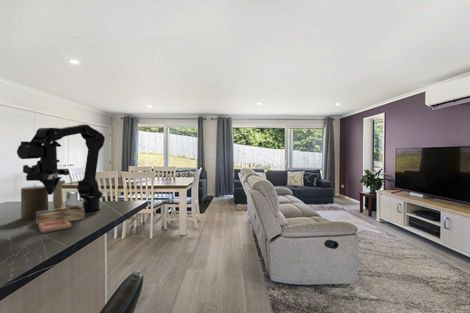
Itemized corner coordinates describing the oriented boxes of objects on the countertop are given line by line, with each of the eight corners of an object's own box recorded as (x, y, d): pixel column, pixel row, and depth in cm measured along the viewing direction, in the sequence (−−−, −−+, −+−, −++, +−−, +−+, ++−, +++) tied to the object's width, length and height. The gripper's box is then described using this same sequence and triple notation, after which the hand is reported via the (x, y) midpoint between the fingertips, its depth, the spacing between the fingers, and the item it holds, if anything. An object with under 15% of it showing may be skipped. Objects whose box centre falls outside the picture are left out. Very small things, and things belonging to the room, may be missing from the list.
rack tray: (65, 223, 105) (65, 219, 105) (71, 228, 99) (71, 223, 99) (38, 228, 99) (38, 223, 99) (42, 233, 92) (42, 228, 92)
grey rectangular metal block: (53, 214, 109) (53, 208, 109) (55, 215, 107) (54, 210, 106) (35, 217, 104) (35, 211, 104) (37, 218, 102) (37, 212, 102)
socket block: (79, 215, 118) (79, 205, 118) (84, 218, 112) (84, 208, 112) (36, 222, 106) (36, 211, 106) (39, 226, 101) (39, 215, 101)
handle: (65, 210, 128) (65, 180, 127) (50, 212, 124) (49, 181, 123) (65, 208, 132) (64, 179, 131) (49, 210, 128) (49, 180, 127)
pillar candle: (42, 219, 112) (42, 185, 111) (16, 220, 109) (16, 186, 109) (51, 214, 121) (51, 182, 121) (27, 215, 118) (27, 183, 118)
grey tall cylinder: (75, 211, 115) (75, 191, 115) (78, 213, 112) (77, 192, 112) (65, 213, 112) (64, 192, 112) (67, 214, 109) (67, 194, 109)
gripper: (43, 156, 115) (45, 190, 115) (10, 159, 96) (12, 199, 97) (69, 156, 115) (70, 190, 116) (41, 159, 97) (42, 199, 98)
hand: (50, 194), depth 107 cm, fingers closed
